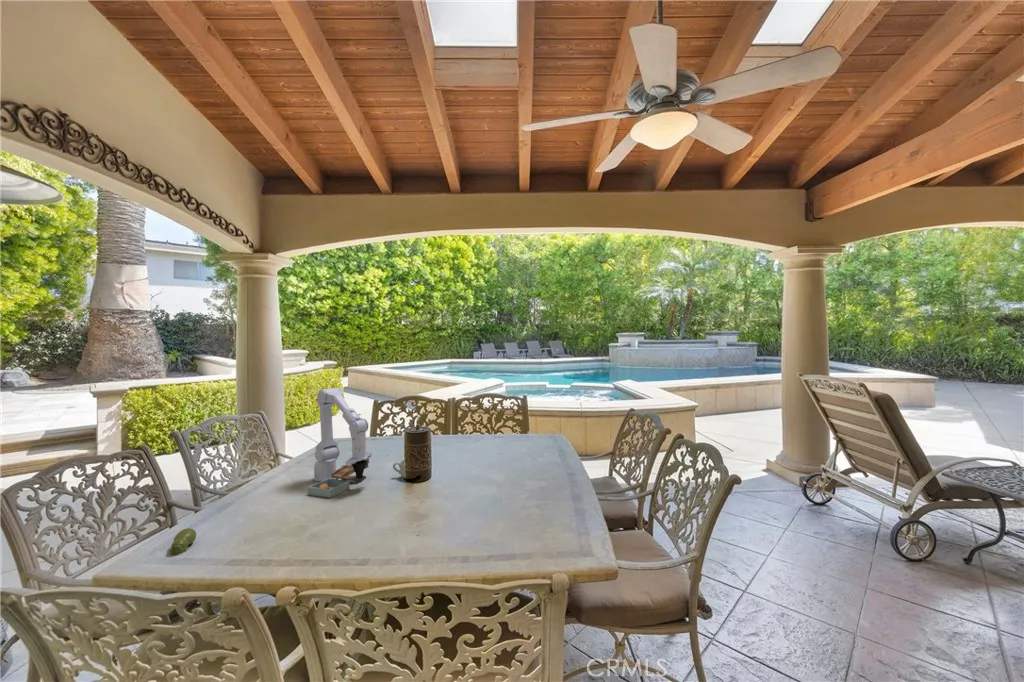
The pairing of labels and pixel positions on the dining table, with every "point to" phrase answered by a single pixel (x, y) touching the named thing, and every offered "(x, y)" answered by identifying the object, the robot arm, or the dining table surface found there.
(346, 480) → the stand
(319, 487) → the ball
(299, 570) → the dining table surface
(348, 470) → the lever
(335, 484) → the tray
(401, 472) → the teacup
